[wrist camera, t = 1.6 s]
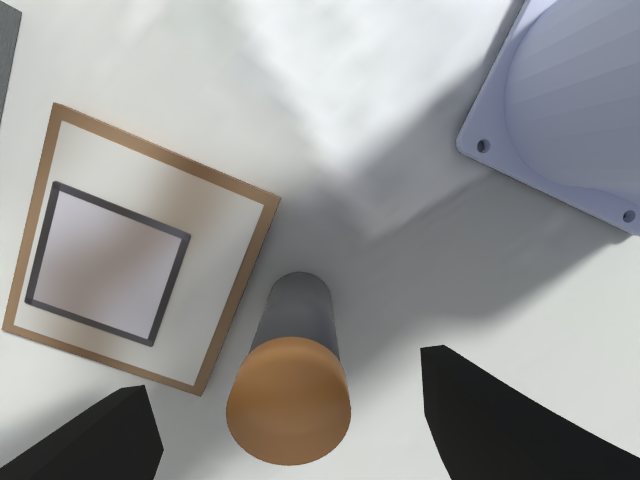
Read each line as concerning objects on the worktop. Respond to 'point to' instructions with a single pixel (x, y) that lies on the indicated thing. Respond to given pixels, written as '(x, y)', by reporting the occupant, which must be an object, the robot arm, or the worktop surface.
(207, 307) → the wooden framed board
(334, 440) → the marker
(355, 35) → the worktop surface
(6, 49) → the button housing
